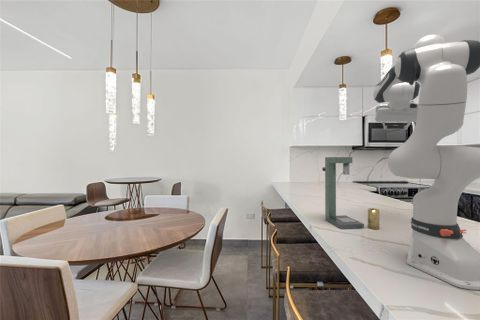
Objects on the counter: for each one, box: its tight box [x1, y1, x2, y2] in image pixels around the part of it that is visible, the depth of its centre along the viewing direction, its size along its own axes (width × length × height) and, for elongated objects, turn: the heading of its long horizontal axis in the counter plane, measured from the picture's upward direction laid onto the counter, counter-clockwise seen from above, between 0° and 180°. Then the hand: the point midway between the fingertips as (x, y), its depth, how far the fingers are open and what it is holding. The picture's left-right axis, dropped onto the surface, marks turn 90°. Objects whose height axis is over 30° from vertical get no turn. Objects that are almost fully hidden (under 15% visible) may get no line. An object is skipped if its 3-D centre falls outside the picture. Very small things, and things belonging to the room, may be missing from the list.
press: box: [321, 156, 365, 230], centre depth 121 cm, size 22×12×35 cm, turn 5°
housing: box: [367, 207, 380, 230], centre depth 111 cm, size 5×5×9 cm
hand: (395, 129), depth 125 cm, fingers open, 8 cm apart
